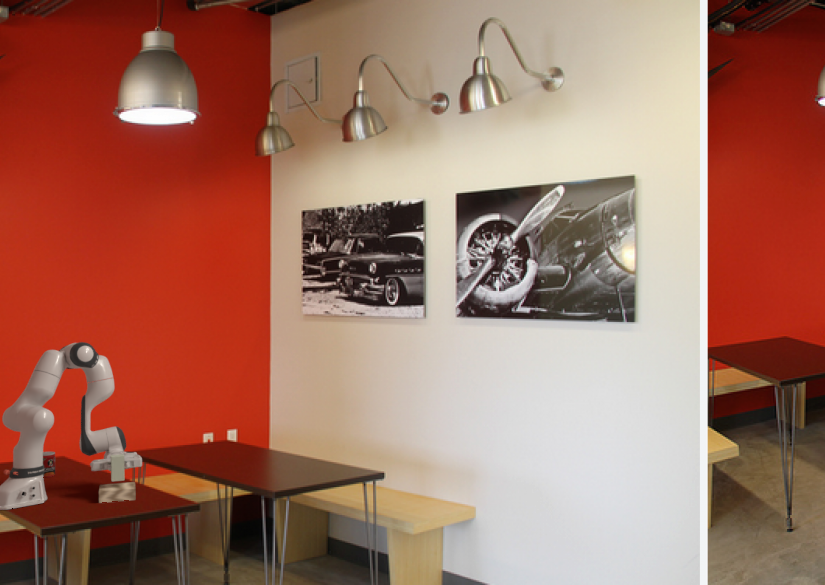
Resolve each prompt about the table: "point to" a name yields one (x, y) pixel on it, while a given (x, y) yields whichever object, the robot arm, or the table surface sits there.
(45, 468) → the canned food
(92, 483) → the table surface
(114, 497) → the birch slab
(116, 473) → the sage block
